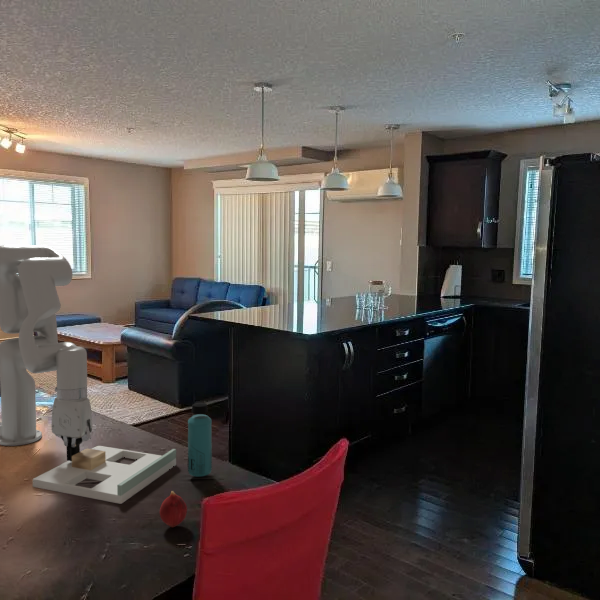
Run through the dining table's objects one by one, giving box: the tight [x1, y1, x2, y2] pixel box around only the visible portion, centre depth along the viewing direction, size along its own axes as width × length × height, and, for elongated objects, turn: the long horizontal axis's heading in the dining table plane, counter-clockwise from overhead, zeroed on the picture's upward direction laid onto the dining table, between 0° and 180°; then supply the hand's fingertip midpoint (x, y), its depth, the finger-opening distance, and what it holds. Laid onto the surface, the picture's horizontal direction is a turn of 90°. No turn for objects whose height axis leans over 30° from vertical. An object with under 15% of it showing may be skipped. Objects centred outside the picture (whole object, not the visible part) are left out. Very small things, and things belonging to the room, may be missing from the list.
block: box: [72, 447, 106, 470], centre depth 147 cm, size 6×6×3 cm
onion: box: [159, 490, 188, 528], centre depth 120 cm, size 6×6×8 cm
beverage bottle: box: [186, 402, 213, 477], centre depth 145 cm, size 6×7×20 cm
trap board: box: [32, 445, 177, 504], centre depth 145 cm, size 26×25×4 cm
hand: (73, 459), depth 149 cm, fingers closed
